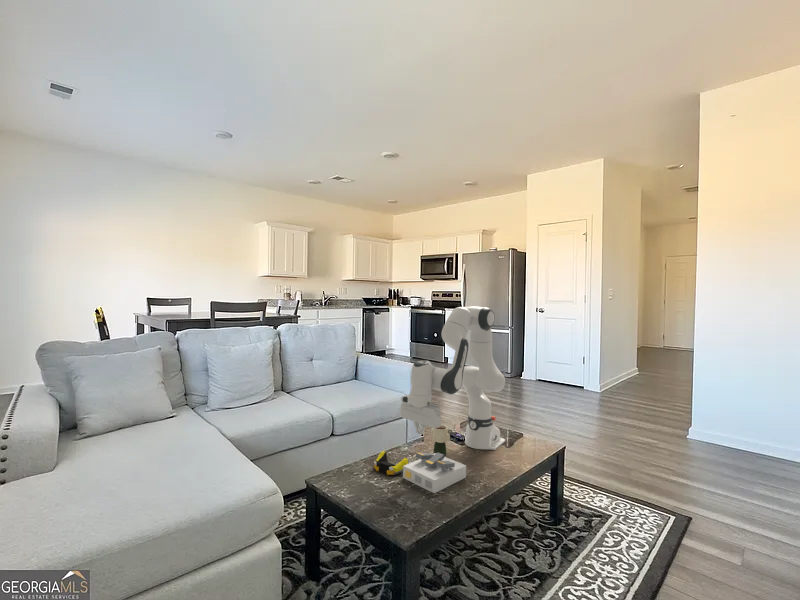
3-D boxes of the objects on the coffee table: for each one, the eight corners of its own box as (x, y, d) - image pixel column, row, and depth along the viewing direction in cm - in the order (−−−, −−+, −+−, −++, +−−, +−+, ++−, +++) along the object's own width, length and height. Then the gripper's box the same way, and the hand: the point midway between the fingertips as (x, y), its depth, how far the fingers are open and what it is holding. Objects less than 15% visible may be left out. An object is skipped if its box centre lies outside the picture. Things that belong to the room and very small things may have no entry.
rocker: (438, 455, 168) (437, 452, 168) (444, 458, 166) (444, 454, 165) (425, 465, 163) (425, 461, 162) (432, 468, 160) (431, 464, 160)
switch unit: (434, 464, 177) (435, 450, 177) (465, 477, 165) (466, 462, 165) (402, 478, 163) (402, 462, 163) (433, 493, 151) (434, 477, 151)
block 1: (427, 456, 172) (428, 452, 172) (433, 458, 169) (434, 454, 169) (415, 456, 166) (416, 452, 166) (421, 459, 164) (422, 455, 164)
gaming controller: (382, 461, 179) (368, 469, 171) (383, 449, 179) (368, 456, 171) (410, 470, 170) (396, 479, 162) (410, 458, 170) (396, 465, 162)
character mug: (453, 455, 187) (454, 428, 187) (444, 460, 182) (445, 431, 181) (435, 449, 194) (436, 422, 194) (426, 453, 189) (426, 426, 189)
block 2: (447, 464, 164) (448, 460, 164) (454, 467, 161) (455, 463, 162) (435, 465, 158) (436, 461, 159) (442, 468, 156) (442, 463, 156)
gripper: (445, 404, 160) (444, 438, 160) (408, 394, 174) (407, 425, 174) (434, 406, 155) (433, 442, 155) (398, 396, 170) (397, 428, 170)
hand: (419, 433), depth 165 cm, fingers closed
